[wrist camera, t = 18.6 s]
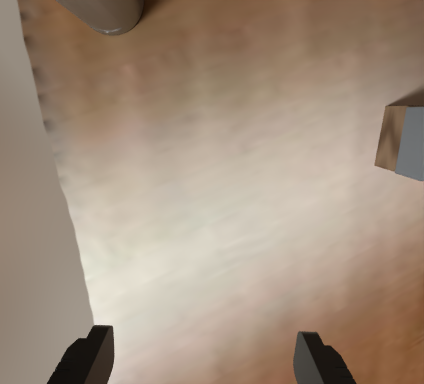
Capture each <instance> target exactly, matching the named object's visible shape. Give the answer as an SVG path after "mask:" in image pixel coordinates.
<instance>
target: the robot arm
mask: <svg viewBox="0 0 424 384" xmlns="http://www.w3.org/2000/svg"><path fill="white" fill-rule="evenodd" d="M56 1H57V2H58V3H60V4H61V5H62V6H64V7H65V8H66V9H67V10H69V11H70V12H71V13H73V14H74V15H75V16H77V17H78V18H79V19H81V20H82V21H83V22H85V23H86V24H87V25H89V26H90V27H91V28H93V29H94V30H96V31H97V32H100V33H102V34H106V35H120V34H123V33H125V32H127V31H129V30H131V29H132V28H133V27H134V26H135V25H136V23H137V22H138V20H139V19H140V16H141V14H142V11H143V6H144V0H56ZM113 363H114V335H113V326H110V325H94V326H93V327H92V329H91V331H90V332H89V334H88V336H87V338H79V339H77V340H76V341H75V342H74V343H73V344H72V345H71V346H70V347H68V348H67V350H66V352H65V354H64V355H63V357H62V359H61V362H59V364H58V365H57V367H56V369H55V372H53V374H52V376H51V377H50V379H49V381H48V382H47V384H107V383H108V380H109V377H110V374H111V372H112V368H113ZM293 366H294V373H295V377H296V380H297V383H298V384H356V382H355V380H354V379H353V377H352V375H351V373H350V371H349V370H348V369H347V366H346V364H345V362H344V361H343V359H342V357H341V355H340V354H339V353H338V352H337V351H335V350H334V349H333V348H332V347H331V346H328V345H324V344H323V342H322V340H321V338H320V336H319V335H318V333H317V332H301V331H300V332H298V334H297V340H296V347H295V353H294V360H293Z"/></svg>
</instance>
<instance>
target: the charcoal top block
mask: <svg viewBox="0 0 424 384" xmlns="http://www.w3.org/2000/svg"><path fill="white" fill-rule="evenodd" d="M395 173H396V174H399V175H402V176H406V177H409V178H412V179H415V180H418V181H424V107H407V108H406V113H405V119H404V125H403V130H402V136H401V141H400V147H399V152H398V158H397V163H396V169H395Z"/></svg>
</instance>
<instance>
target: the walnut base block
mask: <svg viewBox="0 0 424 384" xmlns="http://www.w3.org/2000/svg"><path fill="white" fill-rule="evenodd" d="M407 107H424V106H386V107H385V112H384V117H383V123H382V128H381V133H380V139H379V144H378V149H377V154H376V160H375V165H374V166H378V167H381V168H384V169H387V170H391V171H395V169H396V163H397V158H398V152H399V147H400V141H401V136H402V130H403V125H404V119H405V113H406V108H407Z"/></svg>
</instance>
